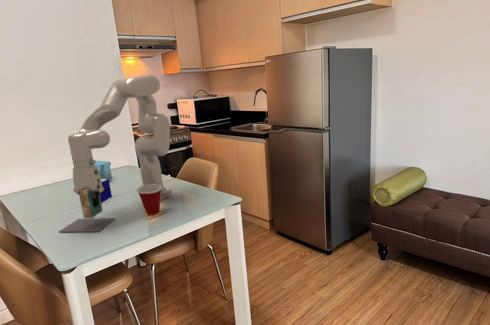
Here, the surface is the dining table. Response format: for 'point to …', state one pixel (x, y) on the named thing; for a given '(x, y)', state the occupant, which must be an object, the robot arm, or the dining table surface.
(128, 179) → the dining table surface
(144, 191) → the plastic cup
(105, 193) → the puzzle cube
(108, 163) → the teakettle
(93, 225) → the mat
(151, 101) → the robot arm
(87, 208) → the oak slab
